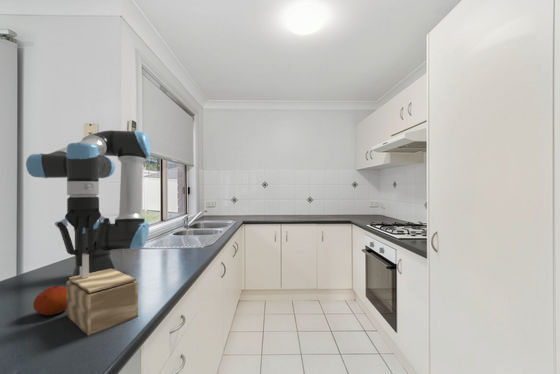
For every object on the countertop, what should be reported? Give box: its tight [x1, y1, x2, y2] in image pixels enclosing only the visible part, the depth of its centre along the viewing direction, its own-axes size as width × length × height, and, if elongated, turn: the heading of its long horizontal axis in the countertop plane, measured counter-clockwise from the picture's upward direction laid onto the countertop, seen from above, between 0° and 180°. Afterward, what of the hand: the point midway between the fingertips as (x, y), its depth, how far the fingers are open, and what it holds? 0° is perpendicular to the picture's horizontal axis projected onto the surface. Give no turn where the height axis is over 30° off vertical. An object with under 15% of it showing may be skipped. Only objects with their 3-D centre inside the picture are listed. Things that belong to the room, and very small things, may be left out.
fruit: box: [33, 285, 67, 316], centre depth 79 cm, size 9×9×8 cm
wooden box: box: [66, 280, 139, 337], centre depth 76 cm, size 18×12×10 cm, turn 53°
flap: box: [68, 269, 137, 293], centre depth 76 cm, size 17×11×1 cm, turn 53°
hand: (84, 276), depth 77 cm, fingers closed
